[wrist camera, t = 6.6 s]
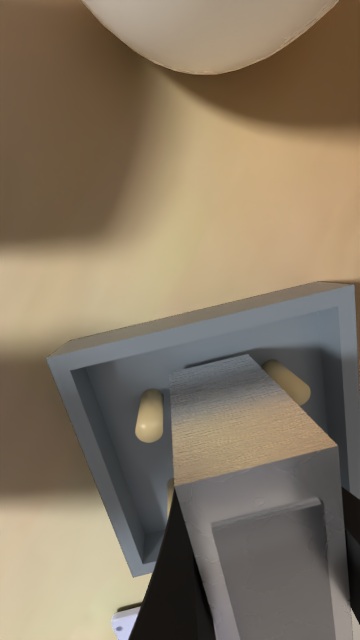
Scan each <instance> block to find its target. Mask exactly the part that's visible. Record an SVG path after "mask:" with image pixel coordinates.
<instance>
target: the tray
mask: <svg viewBox="0 0 360 640" xmlns="http://www.w3.org/2000/svg"><path fill="white" fill-rule="evenodd" d="M245 354H248V355H249V356H250V357H251V358H252V359H253V360H254V361H255V362H256V363H257V364H258V365H259V366H260V367H261V368H262V369H263V370H264V371H265V372H266V373H267V374H268V375H269V376H270V377H271V378H272V379H273V380H274V381H275V382H276V383H277V384H278V385H279V386H280V387H281V388H282V389H283V390H284V391H285V392H286V393H287V394H288V395H289V396H290V397H291V398H292V399H293V400H294V401H295V402H296V403H297V404H298V405H299V406H300V408H301V409H302V410H303V411H304V412H305V413H306V414H307V415H308V416H309V417H310V418H311V419H312V420H313V421H314V422H315V423H316V424H317V425H318V426H319V427H320V428H321V429H322V430H323V431H324V432H325V433H326V434H327V435H328V436H329V437H330V438H331V439H332V440H333V441H334V442H335V443H336V444H337V445H338V451H339V464H340V477H341V486H342V487H344V488H345V489H346V490H348V491H349V492H350V493H352V494H353V495H354V496H356V497H357V498H358V499H360V397H359V375H358V353H357V330H356V308H355V286H354V284H342V283H330V282H318V281H317V282H313V283H309V284H305V285H300V286H296V287H292V288H288V289H284V290H279V291H275V292H271V293H267V294H263V295H258V296H254V297H250V298H246V299H242V300H238V301H233V302H229V303H225V304H221V305H217V306H212V307H208V308H204V309H200V310H196V311H191V312H187V313H183V314H179V315H175V316H171V317H166V318H162V319H158V320H154V321H150V322H145V323H141V324H137V325H133V326H129V327H124V328H120V329H116V330H112V331H108V332H104V333H99V334H95V335H91V336H87V337H83V338H78V339H74V340H70V341H68V342H67V343H66V344H64V345H63V346H62V347H60V348H59V349H58V350H56V351H55V352H54V353H52V354H51V355H50V356H48V357H47V358H46V360H47V363H48V365H49V368H50V370H51V373H52V375H53V378H54V380H55V383H56V385H57V388H58V390H59V393H60V395H61V398H62V401H63V403H64V406H65V408H66V411H67V413H68V416H69V418H70V421H71V423H72V426H73V428H74V431H75V433H76V436H77V438H78V441H79V443H80V446H81V448H82V451H83V453H84V456H85V458H86V461H87V463H88V466H89V468H90V471H91V473H92V476H93V478H94V481H95V483H96V486H97V489H98V491H99V494H100V496H101V499H102V501H103V504H104V506H105V509H106V511H107V514H108V516H109V519H110V521H111V524H112V526H113V529H114V531H115V534H116V536H117V539H118V541H119V544H120V546H121V549H122V551H123V554H124V556H125V559H126V561H127V564H128V566H129V569H130V571H131V574H132V577H137V576H141V575H145V574H149V573H153V570H154V567H155V564H156V561H157V558H158V554H159V551H160V547H161V543H162V540H163V536H164V533H165V529H166V525H167V521H168V516H169V512H170V507H171V503H172V497H173V492H174V466H173V444H172V422H171V400H170V377H169V373H171V372H175V371H179V370H183V369H187V368H191V367H195V366H199V365H204V364H208V363H212V362H216V361H220V360H224V359H228V358H232V357H237V356H241V355H245Z"/></svg>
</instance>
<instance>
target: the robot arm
mask: <svg viewBox="0 0 360 640" xmlns="http://www.w3.org/2000/svg"><path fill="white" fill-rule="evenodd" d="M341 490H342V503H343V515H344V528H345V541H346V554H347V567H348V580H349V592H350V605H351V608H352V610H353V612H354V614H355V616H356V618H357V620H358V622H359V624H360V499H358V498H357V497H356V496H354V495H353V494H352V493H350V492H349V491H348V490H346V489H345V488H344V487H342V486H341ZM111 626H112V628H113V630H114V632H115V634H116V636H117V639H118V640H219V637H218V633H217V630H216V626H215V623H214V620H213V616H212V613H211V609H210V606H209V603H208V599H207V596H206V592H205V589H204V586H203V582H202V579H201V575H200V572H199V569H198V565H197V562H196V558H195V555H194V552H193V548H192V545H191V541H190V538H189V535H188V531H187V528H186V524H185V521H184V518H183V514H182V511H181V507H180V504H179V501H178V497H177V494H176V490H175V487H174V492H173V497H172V503H171V507H170V512H169V516H168V521H167V525H166V529H165V533H164V536H163V540H162V543H161V547H160V551H159V554H158V558H157V561H156V564H155V567H154V570H153V573H152V576H151V579H150V582H149V585H148V588H147V591H146V594H145V597H144V599H143V602H142V605H141V606H140V607H136V608H133V609H129V610H125V611H121V612H117V613H115V614H114V615H113V616H112V620H111Z"/></svg>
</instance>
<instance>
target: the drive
mask: <svg viewBox="0 0 360 640" xmlns="http://www.w3.org/2000/svg"><path fill="white" fill-rule="evenodd" d="M169 377H170V400H171V422H172V444H173V466H174V487H175V490H176V494H177V497H178V501H179V504H180V507H181V511H182V514H183V518H184V521H185V524H186V528H187V531H188V535H189V538H190V541H191V545H192V548H193V552H194V555H195V558H196V562H197V565H198V569H199V572H200V575H201V579H202V582H203V586H204V589H205V592H206V596H207V599H208V603H209V606H210V609H211V613H212V616H213V620H214V623H215V626H216V630H217V633H218V637H219V640H353V631H352V618H351V605H350V592H349V580H348V567H347V554H346V541H345V528H344V515H343V503H342V490H341V477H340V464H339V451H338V445H337V444H336V443H335V442H334V441H333V440H332V439H331V438H330V437H329V436H328V435H327V434H326V433H325V432H324V431H323V430H322V429H321V428H320V427H319V426H318V425H317V424H316V423H315V422H314V421H313V420H312V419H311V418H310V417H309V416H308V415H307V414H306V413H305V412H304V411H303V410H302V409H301V408H300V406H299V405H298V404H297V403H296V402H295V401H294V400H293V399H292V398H291V397H290V396H289V395H288V394H287V393H286V392H285V391H284V390H283V389H282V388H281V387H280V386H279V385H278V384H277V383H276V382H275V381H274V380H273V379H272V378H271V377H270V376H269V375H268V374H267V373H266V372H265V371H264V370H263V369H262V368H261V367H260V366H259V365H258V364H257V363H256V362H255V361H254V360H253V359H252V358H251V357H250V356H249V355H248V354H245V355H241V356H237V357H232V358H228V359H224V360H220V361H216V362H212V363H208V364H204V365H199V366H195V367H191V368H187V369H183V370H179V371H175V372H171V373H169Z"/></svg>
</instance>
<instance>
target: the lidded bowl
mask: <svg viewBox="0 0 360 640" xmlns="http://www.w3.org/2000/svg"><path fill="white" fill-rule="evenodd" d="M81 1H82V2H83V4H84V5H85V6H86V7H87V8H88V9H89V10H90V11H91V12H92V14H93V15H94V16H95V17H96V18H97V19H98V20H99V21H100V22H101V24H102V25H103V26H105V27H106V28H107V29H108V30H109V31H110V32H112V33H113V34H114V35H115V36H116V37H118V38H119V39H120V40H121V41H122V42H124V43H125V44H126V45H127V46H128V47H130V48H131V49H132V50H133V51H135V52H136V53H138V54H140V55H141V56H143V57H145V58H146V59H148V60H150V61H151V62H153V63H155V64H158V65H161V66H163V67H166V68H168V69H171V70H174V71H178V72H183V73H189V74H194V75H216V74H221V73H226V72H231V71H236V70H239V69H241V68H244V67H247V66H249V65H251V64H254V63H256V62H259V61H261V60H264V59H266V58H268V57H270V56H271V55H273V54H275V53H276V52H278V51H279V50H281V49H282V48H284V47H286V46H287V45H289V44H290V43H291V42H293V41H294V40H295V39H297V38H298V37H299V36H300V35H302V34H303V33H304V32H306V31H307V30H308V29H309V28H311V27H312V26H313V25H314V24H315V23H316V22H317V21H318V20H320V19H321V18H322V17H323V16H324V15H325V14H326V13H327V12H328V11H330V10H331V9H332V8H333V7H334V6H335V5H336V4H337V3H338V2H339V1H340V0H81Z"/></svg>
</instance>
